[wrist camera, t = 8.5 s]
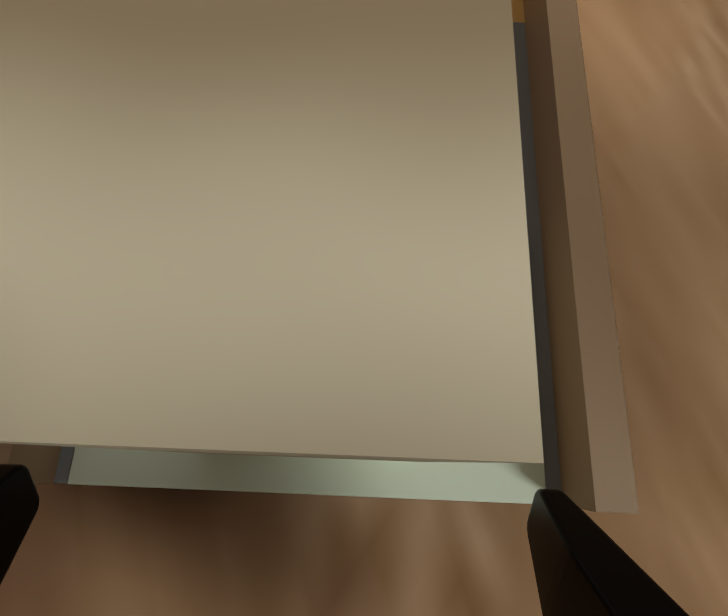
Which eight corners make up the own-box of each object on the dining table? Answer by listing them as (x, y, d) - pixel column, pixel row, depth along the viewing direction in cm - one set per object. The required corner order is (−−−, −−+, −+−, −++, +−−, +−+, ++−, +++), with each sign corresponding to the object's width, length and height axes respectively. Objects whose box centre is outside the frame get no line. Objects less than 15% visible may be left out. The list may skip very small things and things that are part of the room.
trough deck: (576, 501, 15) (638, 513, 11) (51, 479, 15) (-40, 484, 11) (523, -114, 23) (550, -213, 19) (184, -124, 23) (154, -223, 20)
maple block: (415, 461, 13) (544, 462, 4) (198, 453, 13) (-209, 432, 4) (416, 261, 15) (505, -78, 6) (225, 253, 15) (-6, -93, 6)
